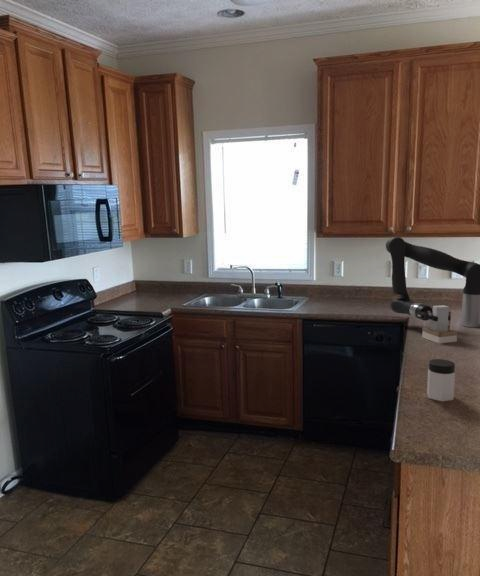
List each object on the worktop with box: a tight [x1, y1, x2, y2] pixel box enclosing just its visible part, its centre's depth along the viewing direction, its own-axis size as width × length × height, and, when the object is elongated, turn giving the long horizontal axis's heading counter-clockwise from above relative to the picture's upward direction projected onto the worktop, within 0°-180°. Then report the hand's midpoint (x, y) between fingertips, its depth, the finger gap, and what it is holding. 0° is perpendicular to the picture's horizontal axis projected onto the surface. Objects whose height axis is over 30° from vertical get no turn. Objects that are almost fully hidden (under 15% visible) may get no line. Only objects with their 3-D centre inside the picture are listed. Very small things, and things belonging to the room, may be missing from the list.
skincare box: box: [432, 304, 450, 332], centre depth 241 cm, size 6×4×12 cm
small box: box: [429, 310, 452, 332], centre depth 259 cm, size 8×6×10 cm
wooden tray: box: [421, 327, 458, 345], centre depth 243 cm, size 10×12×5 cm
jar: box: [426, 358, 456, 402], centre depth 171 cm, size 9×8×12 cm
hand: (443, 318), depth 239 cm, fingers closed on skincare box, 6 cm apart
